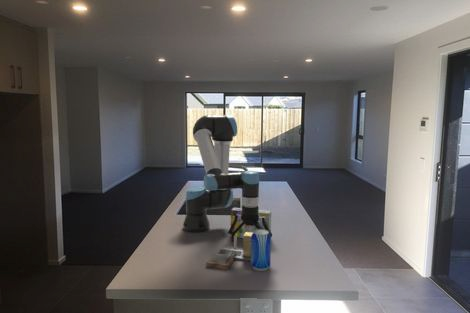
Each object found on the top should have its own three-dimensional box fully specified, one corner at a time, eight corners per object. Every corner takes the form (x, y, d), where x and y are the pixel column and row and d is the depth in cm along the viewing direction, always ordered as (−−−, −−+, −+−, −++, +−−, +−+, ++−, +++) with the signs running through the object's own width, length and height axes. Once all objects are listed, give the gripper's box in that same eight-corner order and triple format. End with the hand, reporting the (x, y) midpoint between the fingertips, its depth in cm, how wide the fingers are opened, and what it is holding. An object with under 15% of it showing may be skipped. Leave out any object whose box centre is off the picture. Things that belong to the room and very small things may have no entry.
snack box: (271, 238, 187) (271, 210, 185) (268, 242, 181) (269, 213, 179) (233, 233, 193) (233, 206, 191) (229, 236, 188) (230, 209, 186)
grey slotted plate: (216, 257, 162) (216, 255, 162) (222, 249, 170) (222, 247, 170) (260, 262, 157) (260, 260, 157) (264, 254, 165) (264, 252, 165)
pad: (205, 266, 152) (205, 262, 152) (213, 257, 162) (213, 253, 161) (228, 269, 150) (228, 264, 149) (234, 259, 159) (234, 255, 159)
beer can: (249, 263, 156) (250, 228, 154) (268, 262, 157) (269, 228, 154) (252, 272, 148) (252, 235, 145) (271, 271, 148) (272, 235, 146)
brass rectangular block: (243, 258, 161) (243, 235, 159) (245, 254, 166) (245, 231, 164) (253, 259, 159) (254, 236, 158) (255, 255, 164) (256, 232, 163)
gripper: (221, 205, 159) (221, 250, 162) (276, 209, 152) (275, 256, 155) (226, 201, 166) (225, 244, 169) (278, 205, 160) (277, 249, 162)
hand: (249, 250), depth 162 cm, fingers open, 13 cm apart
